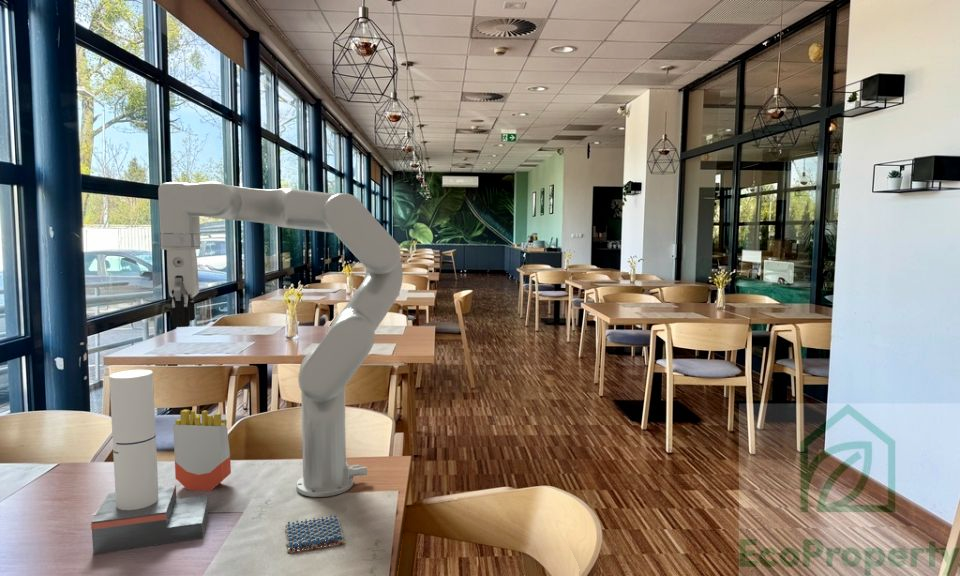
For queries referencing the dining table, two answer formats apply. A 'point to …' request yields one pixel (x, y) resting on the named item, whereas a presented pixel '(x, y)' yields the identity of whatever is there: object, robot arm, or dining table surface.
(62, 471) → the dining table surface
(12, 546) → the dining table surface
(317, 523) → the woven mat
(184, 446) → the french fries container
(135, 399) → the cylindrical container
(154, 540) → the step stand
